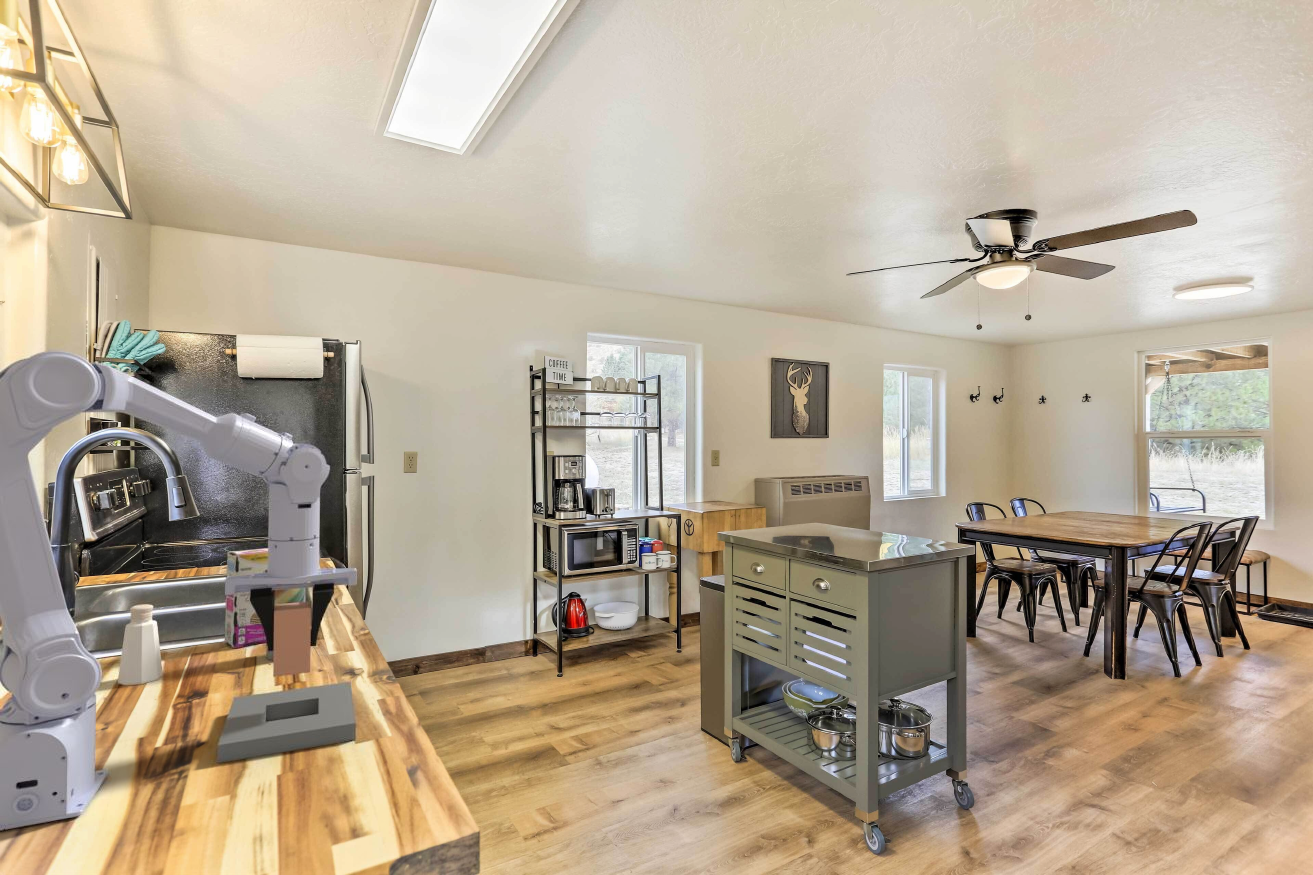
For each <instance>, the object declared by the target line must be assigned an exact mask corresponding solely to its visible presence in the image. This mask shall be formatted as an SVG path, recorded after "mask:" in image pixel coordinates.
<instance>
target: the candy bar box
mask: <svg viewBox="0 0 1313 875" xmlns="http://www.w3.org/2000/svg"><path fill="white" fill-rule="evenodd" d="M226 552H227V551H226ZM267 569H268V547H267V548H256V549H245V550H235V551H234V550H233V551H228V552H227V554H226V574H225V577H226V578H227V577H228V576H241V575H249V574H258V573H267ZM226 578H225V579H226ZM224 613H225V614H224V616H225V617H224V644H225V645H227V646H229V647H230V648H232V649H238V648H243V647H248V646H254V645H258V644H263V643H265V644H266V636H265V632H264V629H263V627H262V624H261V622H260V619H259V617H258V615H257V613H256V611H255V610H254V608H253V606H252V604H251V602H250V592H245V593H236V594H233V595H225V612H224Z"/></svg>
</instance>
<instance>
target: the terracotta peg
mask: <svg viewBox="0 0 1313 875" xmlns="http://www.w3.org/2000/svg"><path fill="white" fill-rule="evenodd" d="M311 624H312V600H311V601H305V602H298V603H286V604H276V606H275V610H274V660H273V666H272V667H273V669H272V670H273V671H272V672H273V676H272V677H274V678H275V677H282V676H289V675H299V674H300V675H301V674H305V673H306V674H307V673H311V649H312V648H311V647H312V646H310V640H311Z"/></svg>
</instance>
